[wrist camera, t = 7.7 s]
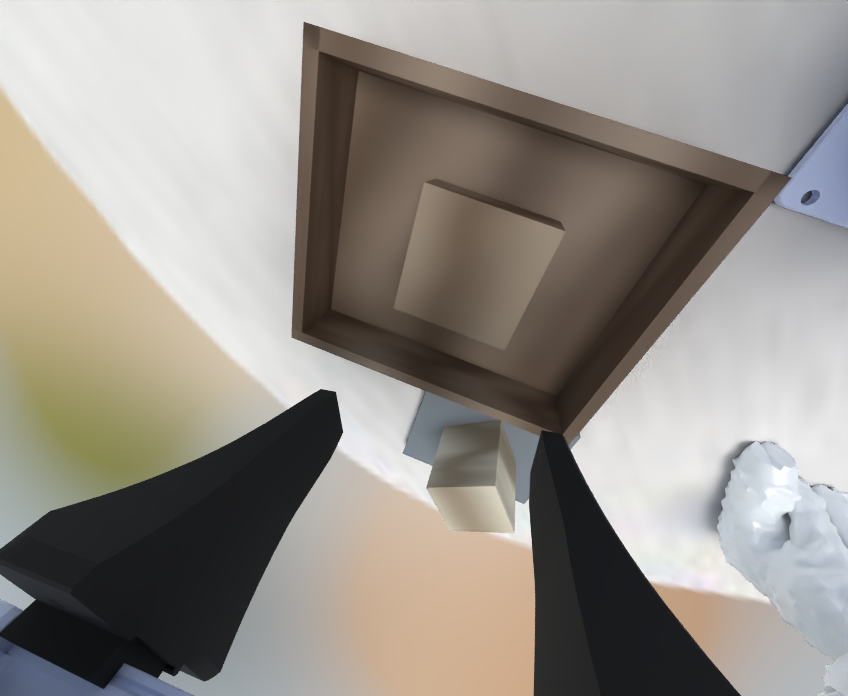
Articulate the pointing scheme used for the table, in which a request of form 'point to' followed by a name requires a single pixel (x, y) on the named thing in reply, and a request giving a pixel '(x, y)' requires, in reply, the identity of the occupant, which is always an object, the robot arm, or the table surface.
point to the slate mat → (448, 413)
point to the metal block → (475, 478)
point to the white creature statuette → (792, 549)
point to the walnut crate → (496, 233)
